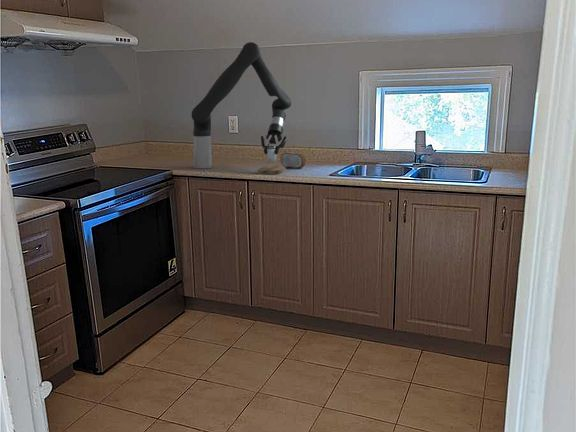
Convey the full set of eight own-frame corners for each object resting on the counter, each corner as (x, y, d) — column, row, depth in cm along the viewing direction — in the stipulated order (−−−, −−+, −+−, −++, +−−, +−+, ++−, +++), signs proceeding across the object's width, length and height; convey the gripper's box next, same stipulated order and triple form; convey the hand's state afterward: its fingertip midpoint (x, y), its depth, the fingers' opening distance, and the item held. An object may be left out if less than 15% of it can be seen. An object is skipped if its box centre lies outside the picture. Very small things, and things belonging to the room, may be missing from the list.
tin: (305, 168, 289) (305, 152, 287) (302, 169, 286) (302, 153, 284) (282, 166, 297) (282, 151, 295) (279, 167, 294) (279, 151, 292)
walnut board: (257, 173, 272) (257, 169, 271) (265, 169, 285) (265, 165, 285) (278, 174, 269) (278, 170, 269) (285, 170, 282) (285, 166, 282)
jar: (266, 162, 274) (265, 146, 272) (268, 161, 279) (268, 145, 277) (275, 162, 273) (274, 146, 271) (277, 161, 278) (277, 145, 276)
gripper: (261, 122, 280) (255, 148, 272) (288, 122, 277) (282, 149, 268) (264, 132, 286) (258, 157, 278) (290, 132, 283) (285, 158, 274)
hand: (270, 153), depth 273 cm, fingers closed on jar, 4 cm apart
